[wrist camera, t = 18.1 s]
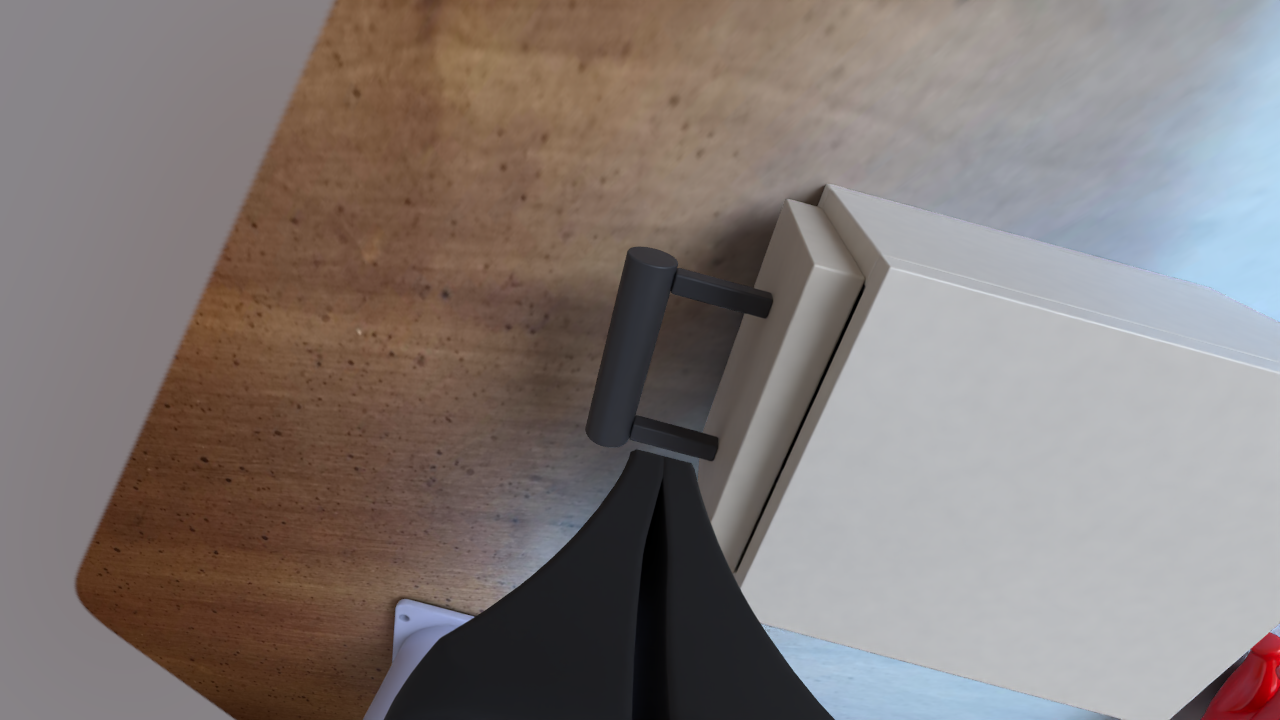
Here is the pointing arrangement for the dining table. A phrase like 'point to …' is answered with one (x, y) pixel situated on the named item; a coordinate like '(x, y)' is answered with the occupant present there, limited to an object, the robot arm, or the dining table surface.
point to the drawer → (735, 362)
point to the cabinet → (1030, 470)
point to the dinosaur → (1251, 686)
